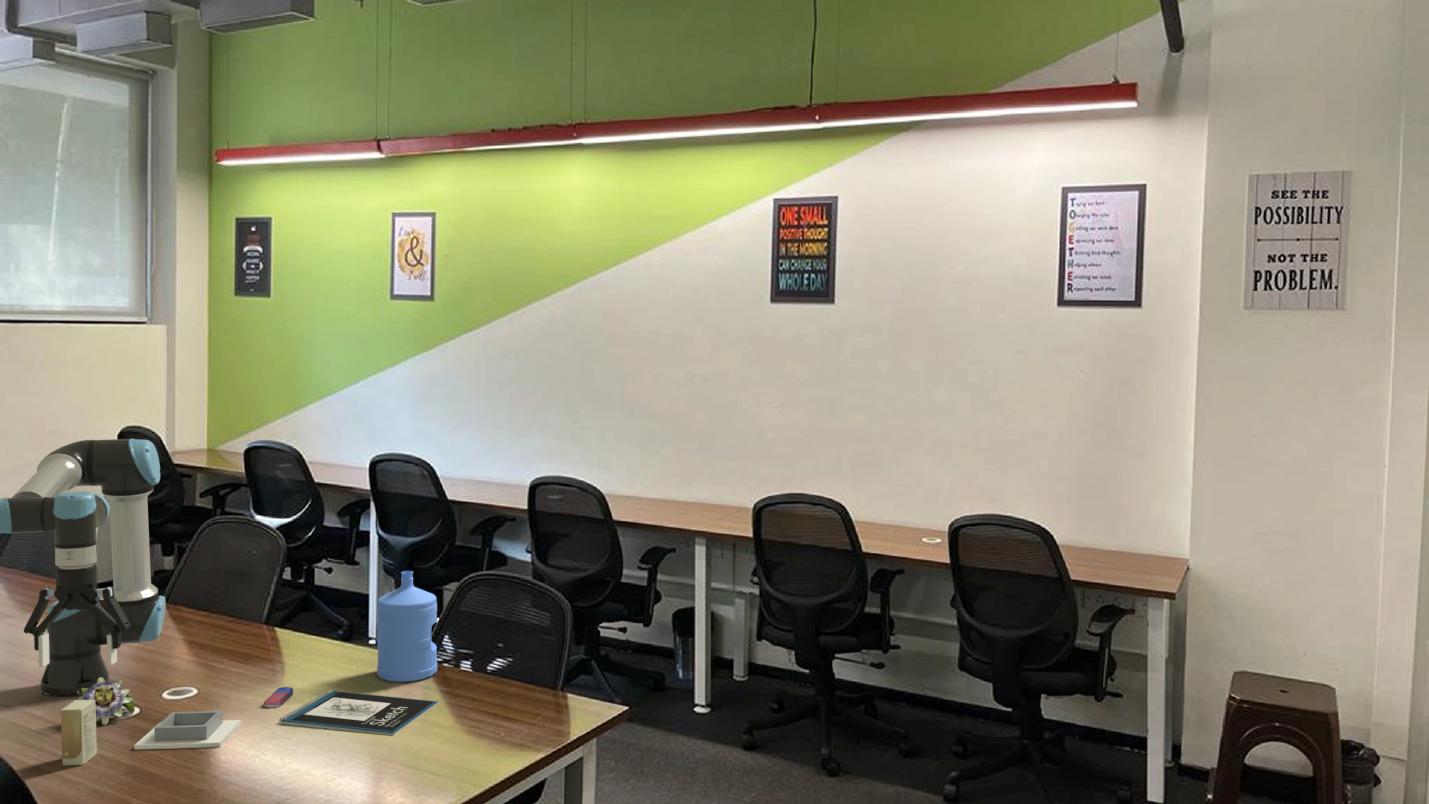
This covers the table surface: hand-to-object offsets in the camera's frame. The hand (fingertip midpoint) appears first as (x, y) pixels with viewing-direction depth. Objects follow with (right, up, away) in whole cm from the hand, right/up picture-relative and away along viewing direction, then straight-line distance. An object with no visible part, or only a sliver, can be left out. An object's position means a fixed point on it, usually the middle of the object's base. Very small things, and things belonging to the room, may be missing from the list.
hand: (78, 664), depth 223 cm
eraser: (+26, -19, +39) cm, 51 cm away
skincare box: (0, -21, +1) cm, 21 cm away
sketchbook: (+49, -20, +31) cm, 62 cm away
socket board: (+16, -20, +15) cm, 30 cm away
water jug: (+52, -18, +61) cm, 83 cm away
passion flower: (-9, -20, +25) cm, 33 cm away
